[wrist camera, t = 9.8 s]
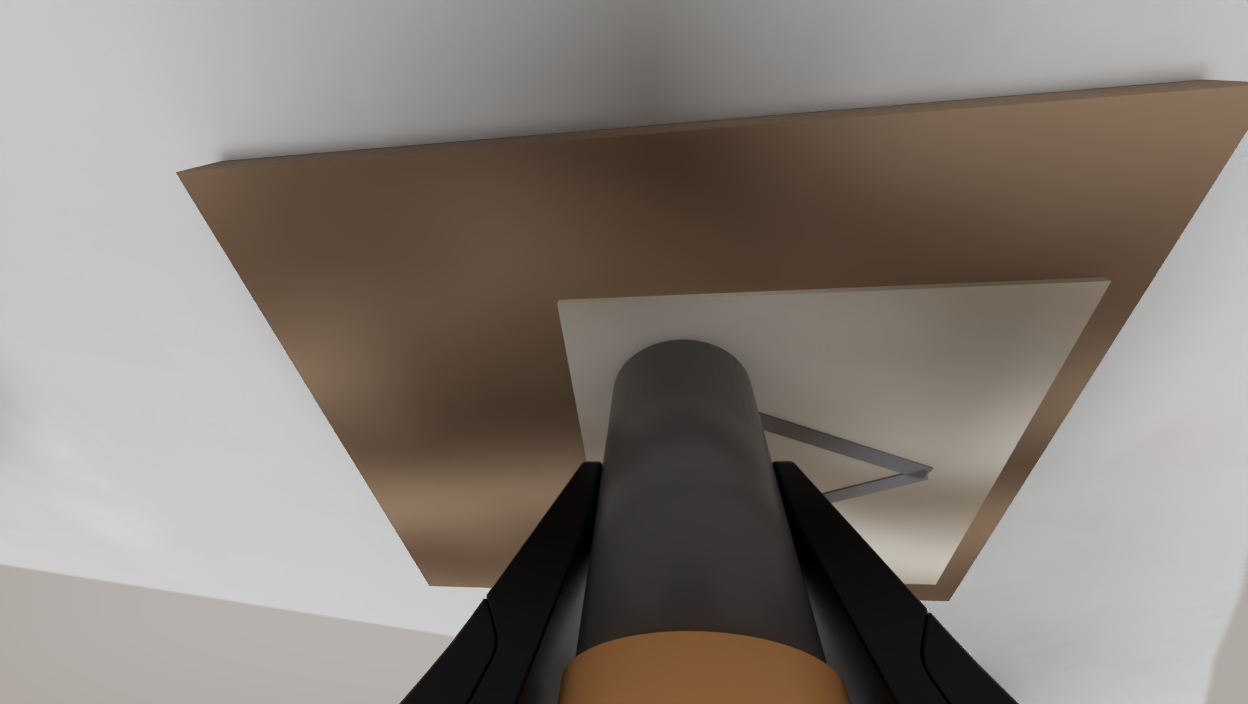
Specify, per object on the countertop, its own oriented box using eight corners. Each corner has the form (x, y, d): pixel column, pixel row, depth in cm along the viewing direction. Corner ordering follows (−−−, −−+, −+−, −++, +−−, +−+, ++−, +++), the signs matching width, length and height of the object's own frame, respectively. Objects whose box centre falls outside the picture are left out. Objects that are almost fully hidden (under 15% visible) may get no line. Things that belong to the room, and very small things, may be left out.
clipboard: (932, 570, 18) (952, 608, 17) (441, 559, 20) (426, 591, 19) (1204, 79, 8) (1295, 83, 7) (221, 161, 11) (164, 174, 9)
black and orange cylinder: (750, 448, 12) (884, 1036, 5) (614, 449, 13) (550, 993, 5) (764, 331, 10) (1037, 1062, 3) (599, 336, 11) (459, 989, 3)
